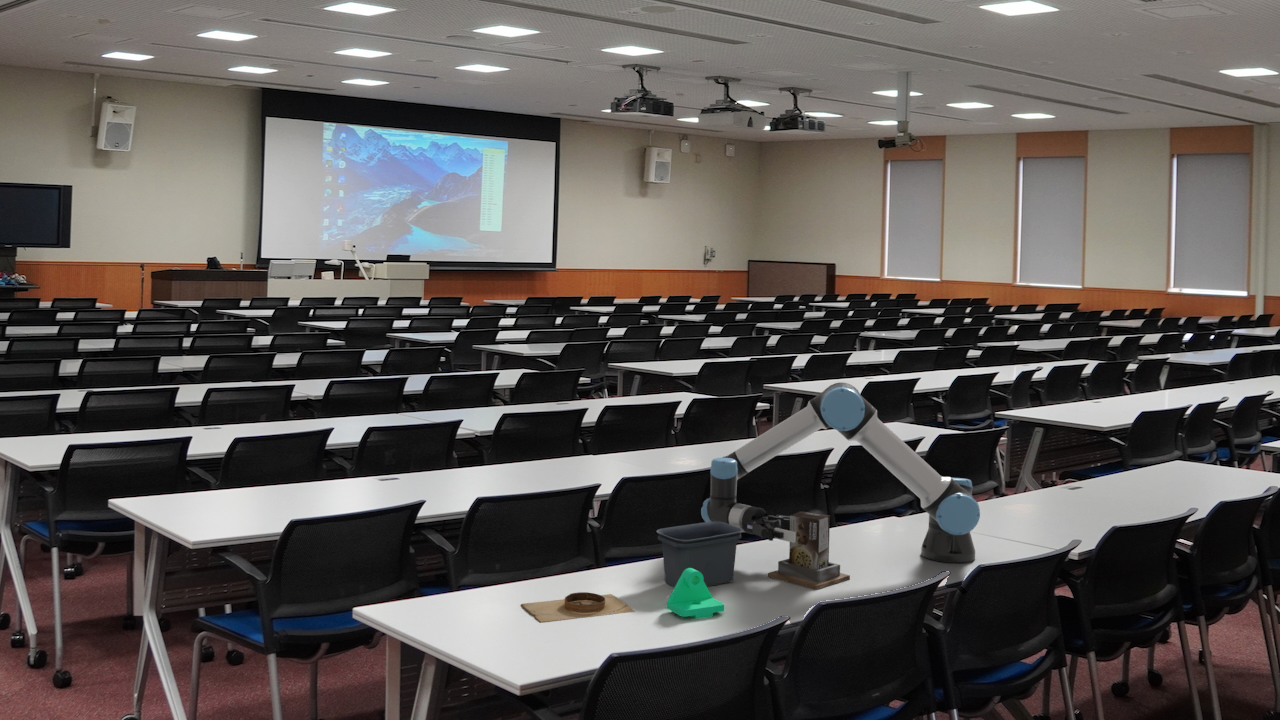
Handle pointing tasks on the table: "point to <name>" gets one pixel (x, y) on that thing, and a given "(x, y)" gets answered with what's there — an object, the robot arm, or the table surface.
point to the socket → (808, 575)
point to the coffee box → (810, 540)
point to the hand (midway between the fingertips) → (810, 533)
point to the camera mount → (693, 597)
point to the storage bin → (700, 551)
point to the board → (576, 607)
